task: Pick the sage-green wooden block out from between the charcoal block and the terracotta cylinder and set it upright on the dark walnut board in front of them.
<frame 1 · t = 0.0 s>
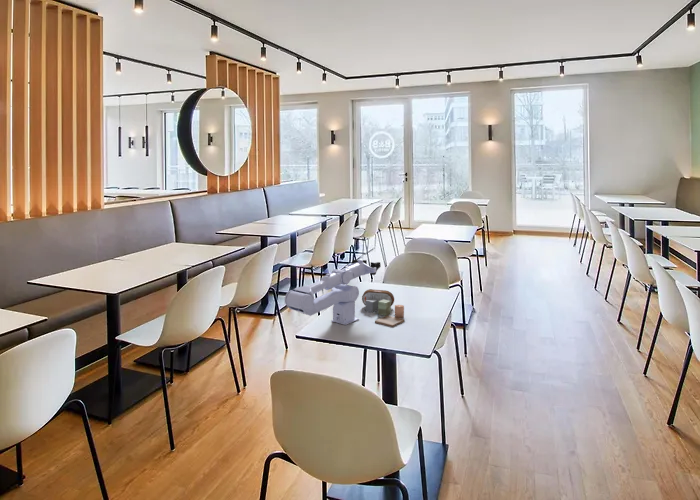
hand: (372, 263, 216), 22 cm above the table, tool horizontal, fingers open, 7 cm apart
green block: (384, 314, 213), on the table
terracotta cylinder: (399, 317, 209), on the table
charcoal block: (371, 310, 218), on the table
tin: (377, 308, 223), on the table
walnut board: (389, 321, 203), on the table
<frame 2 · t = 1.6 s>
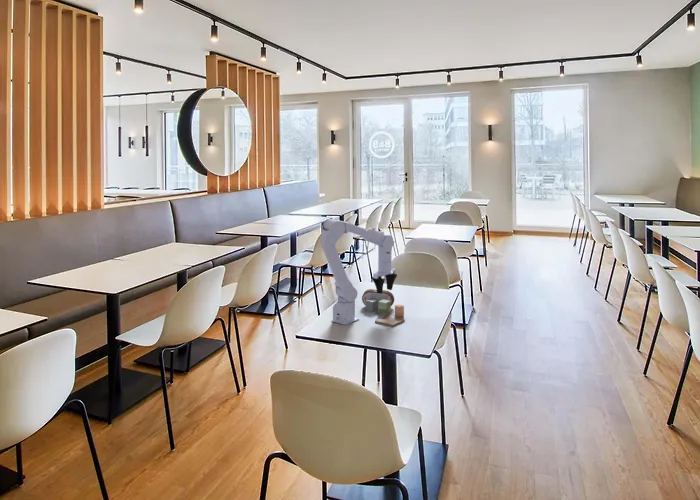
hand: (384, 291, 211), 10 cm above the table, tool pointing down, fingers open, 7 cm apart
nothing on the table moved.
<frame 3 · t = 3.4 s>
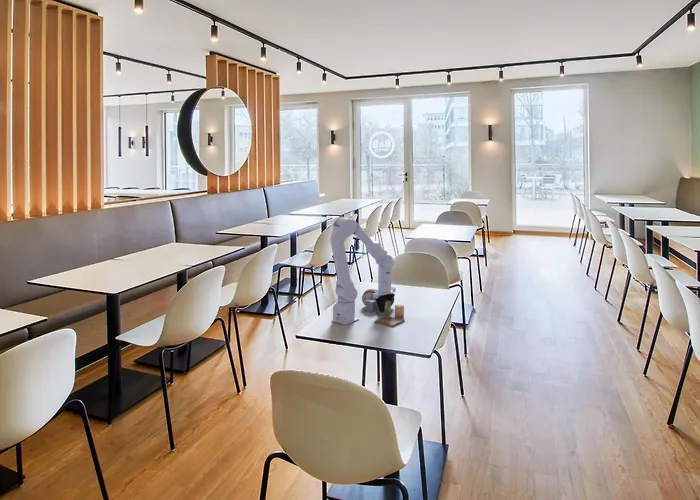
hand: (384, 310, 213), 2 cm above the table, tool pointing down, fingers closed on green block, 4 cm apart
green block: (384, 314, 213), on the table, touching gripper
everything else where it was.
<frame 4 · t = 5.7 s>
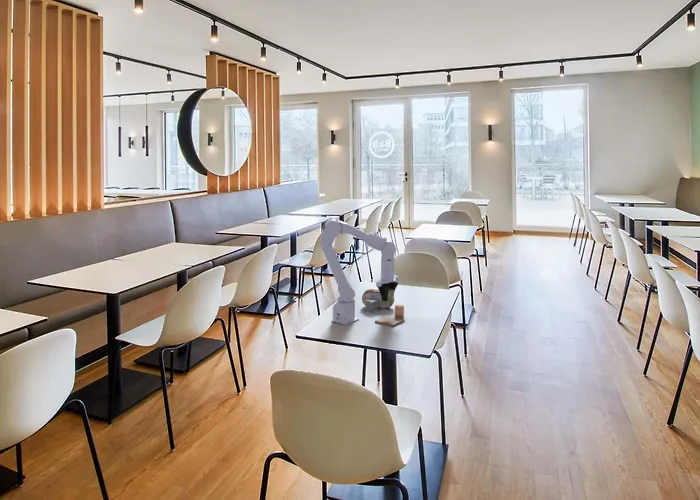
hand: (387, 299, 206), 8 cm above the table, tool pointing down, fingers closed on green block, 4 cm apart
green block: (387, 303, 206), point 7 cm above the table, touching gripper
everything else where it was.
when the fingers open (4 cm above the table, at t = 7.8 s): green block drops 1 cm, resting on walnut board.
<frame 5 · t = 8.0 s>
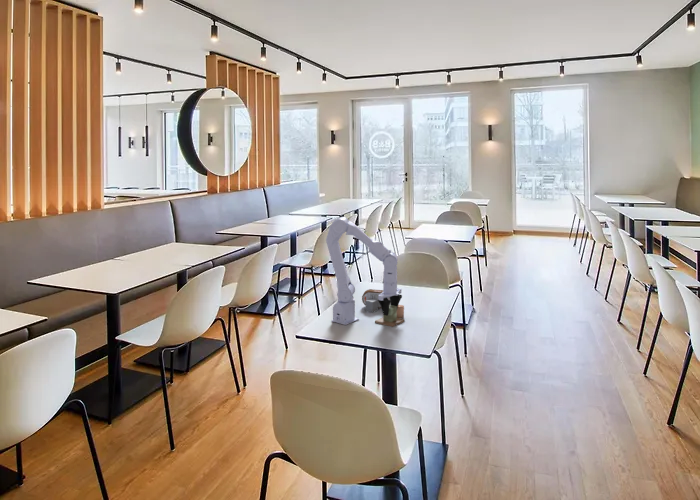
hand: (389, 313, 202), 4 cm above the table, tool pointing down, fingers open, 6 cm apart
green block: (389, 320, 202), point 1 cm above the table, touching walnut board
everything else where it was.
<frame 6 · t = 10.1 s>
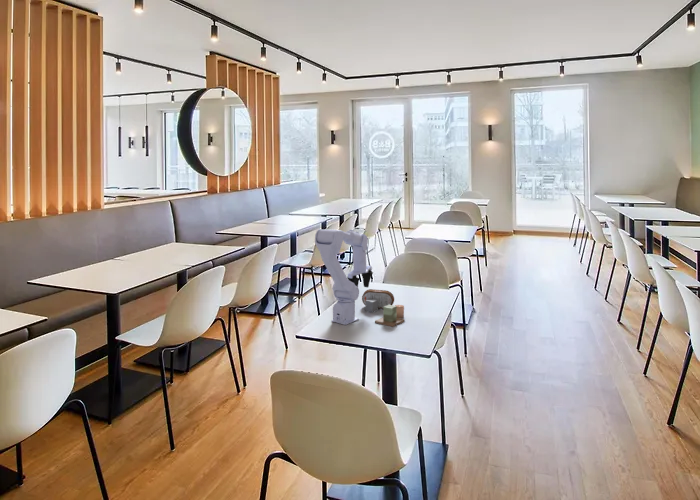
hand: (360, 289, 215), 11 cm above the table, tool pointing down, fingers open, 7 cm apart
nothing on the table moved.
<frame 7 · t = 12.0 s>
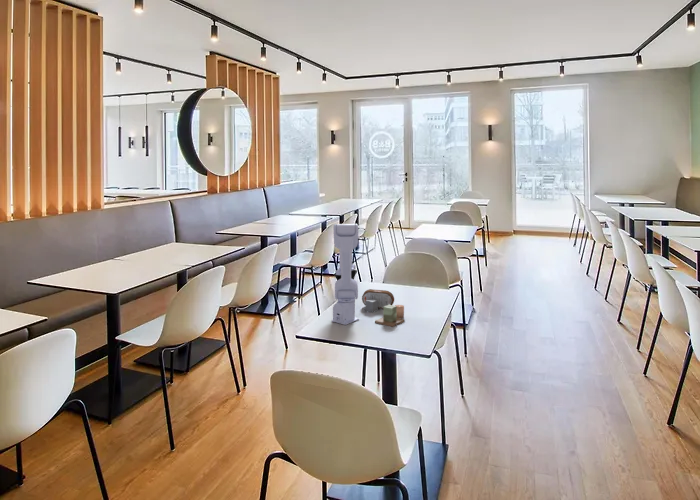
hand: (346, 287, 219), 10 cm above the table, tool pointing down, fingers open, 7 cm apart
nothing on the table moved.
at the end: green block 0.0 cm off-centre on the walnut board, point 0.8 cm above the walnut board's base; green block tilted 0°; green block touching walnut board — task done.
